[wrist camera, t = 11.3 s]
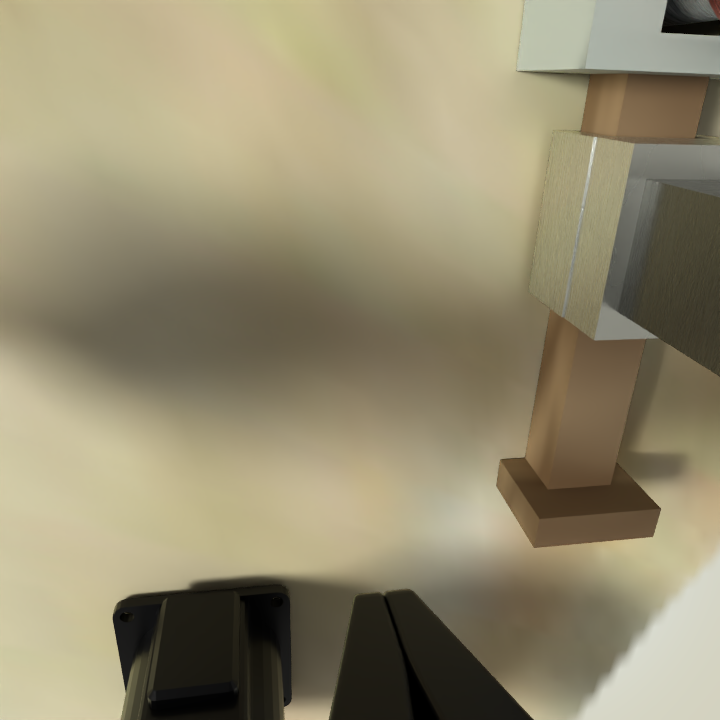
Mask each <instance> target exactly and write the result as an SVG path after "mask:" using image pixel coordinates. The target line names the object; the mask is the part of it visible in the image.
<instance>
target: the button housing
mask: <svg viewBox="0 0 720 720" xmlns="http://www.w3.org/2000/svg"><path fill="white" fill-rule="evenodd" d="M666 5H667V0H525V5H524V13H523V21H522V29H521V37H520V45H519V53H518V61H517V69H516V71H530V72H554V73H578V74H622V73H631V74H654V75H678V76H702V77H710V78H709V79H720V36H711V35H693V34H674V33H661V29H662V24H663V19H664V15H665V10H666Z"/></svg>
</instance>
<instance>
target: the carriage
mask: <svg viewBox="0 0 720 720" xmlns="http://www.w3.org/2000/svg"><path fill="white" fill-rule="evenodd" d="M528 292H529V293H530V294H532V295H533V296H534V297H536V298H537V299H538V300H540V301H541V302H542V303H544V304H545V305H546V306H548V307H549V308H550V309H551V310H553V311H554V312H555V313H557V314H558V315H559V316H561V317H564V318H565V319H566V320H568V321H569V322H570V323H572V324H573V325H574V326H576V327H577V328H578V329H580V330H581V331H582V332H584V333H585V334H586V335H587V336H589V337H590V338H591V339H593V340H623V339H652V338H660V339H661V340H663V341H664V342H666V343H668V344H669V345H671V346H672V347H674V348H675V349H677V350H679V351H680V352H682V353H683V354H685V355H687V356H688V357H690V358H691V359H693V360H695V361H696V362H698V363H699V364H701V365H702V366H704V367H706V368H707V369H709V370H710V371H712V372H714V373H715V374H717V375H718V376H720V137H712V136H704V135H696V136H695V138H656V137H614V136H605V135H598V134H592V133H586V132H579V131H562V130H553V133H552V140H551V146H550V153H549V159H548V166H547V172H546V179H545V185H544V192H543V199H542V205H541V212H540V218H539V225H538V231H537V238H536V244H535V251H534V258H533V264H532V271H531V277H530V284H529V290H528Z"/></svg>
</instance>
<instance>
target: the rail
mask: <svg viewBox="0 0 720 720" xmlns="http://www.w3.org/2000/svg"><path fill="white" fill-rule="evenodd" d="M709 78H710V77H702V76H678V75H654V74H631V73H622V74H590V80H589V86H588V92H587V97H586V103H585V109H584V115H583V121H582V127H581V132H586V133H592V134H598V135H605V136H614V137H656V138H695V136H696V132H697V128H698V123H699V119H700V115H701V111H702V107H703V103H704V99H705V95H706V91H707V86H708V82H709ZM645 341H646V339H623V340H593V339H591V338H590V337H589V336H587V335H586V334H585V333H584V332H582V331H581V330H580V329H578V328H577V327H576V326H574V325H573V324H572V323H570V322H569V321H568V320H566V319H565V318H564V317H561V316H559V315H558V314H557V313H555V312H554V311H553V310H551V309H550V315H549V321H548V327H547V332H546V338H545V344H544V350H543V356H542V362H541V368H540V374H539V379H538V385H537V391H536V397H535V403H534V409H533V415H532V421H531V426H530V432H529V438H528V444H527V450H526V456H525V458H519V459H504V460H500V465H499V471H498V478H497V485H496V486H497V488H498V489H499V491H500V493H501V494H502V496H503V498H504V499H505V501H506V503H507V504H508V506H509V508H510V509H511V511H512V512H513V514H514V516H515V517H516V519H517V521H518V522H519V524H520V526H521V527H522V529H523V530H524V532H525V534H526V535H527V537H528V539H529V540H530V542H531V544H532V545H533V547H534V548H538V547H548V546H559V545H570V544H581V543H592V542H603V541H613V540H624V539H635V538H646V537H653V535H654V532H655V528H656V525H657V521H658V518H659V515H660V511H661V508H660V507H659V506H658V505H657V504H656V503H655V502H654V501H653V500H652V499H651V498H650V497H649V496H648V495H647V494H646V493H645V492H644V490H643V489H642V488H641V487H640V486H639V485H638V484H637V483H636V482H635V481H634V480H633V479H632V478H631V477H630V476H629V475H628V474H627V473H626V472H625V471H624V470H623V469H622V468H621V467H620V466H619V464H618V463H617V462H616V461H617V457H618V452H619V448H620V444H621V440H622V436H623V432H624V428H625V424H626V420H627V415H628V411H629V407H630V403H631V399H632V395H633V391H634V387H635V383H636V378H637V374H638V370H639V366H640V362H641V358H642V354H643V350H644V346H645Z"/></svg>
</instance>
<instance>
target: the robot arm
mask: <svg viewBox="0 0 720 720" xmlns="http://www.w3.org/2000/svg"><path fill="white" fill-rule="evenodd" d="M276 597H280V599H273V598H276ZM125 612H130V613H131V614H125ZM113 623H114V629H115V635H116V640H117V646H118V651H119V657H120V662H121V668H122V674H123V679H124V685H125V690H126V696H125V701H124V706H123V711H122V716H121V720H285V718H284V707H285V706H287V705H289V703H290V702H291V699H292V689H291V634H290V596H289V590H288V589H287V588H286V587H285V586H282V585H268V586H257V587H247V588H236V589H226V590H215V591H205V592H194V593H184V594H173V595H163V596H153V597H142V598H132V599H125V600H121V601H120V602H118V603H117V605H116V606H115V609H114V613H113ZM329 720H533V719H532V718H531V717H530V715H529V714H528V713H527V712H526V711H525V710H524V709H523V708H522V707H521V706H520V705H519V704H518V703H517V702H516V700H515V699H514V698H513V697H512V696H511V695H510V694H509V693H508V692H507V691H506V690H505V689H504V688H503V687H502V686H501V684H500V683H499V682H498V681H497V680H496V679H495V678H494V677H493V676H492V675H491V674H490V673H489V672H488V671H487V669H486V668H485V667H484V666H483V665H482V664H481V663H480V662H479V661H478V660H477V659H476V658H475V657H474V656H473V654H472V653H471V652H470V651H469V650H468V649H467V648H466V647H465V646H464V645H463V644H462V643H461V642H460V641H459V639H458V638H457V637H456V636H455V635H454V634H453V633H452V632H451V631H450V630H449V629H448V628H447V627H446V626H445V624H444V623H443V622H442V621H441V620H440V619H439V618H438V617H437V616H436V615H435V614H434V613H433V612H432V611H431V610H430V608H429V607H428V606H427V605H426V604H425V603H424V602H423V601H422V600H421V599H420V598H419V597H418V596H417V595H416V593H415V592H413V591H412V590H410V589H401V590H391V591H386V592H385V593H384V594H382V593H380V592H371V593H361V594H357V595H355V597H354V600H353V605H352V609H351V614H350V619H349V624H348V629H347V634H346V639H345V643H344V648H343V653H342V658H341V663H340V668H339V673H338V677H337V682H336V687H335V692H334V697H333V702H332V707H331V711H330V716H329Z"/></svg>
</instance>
